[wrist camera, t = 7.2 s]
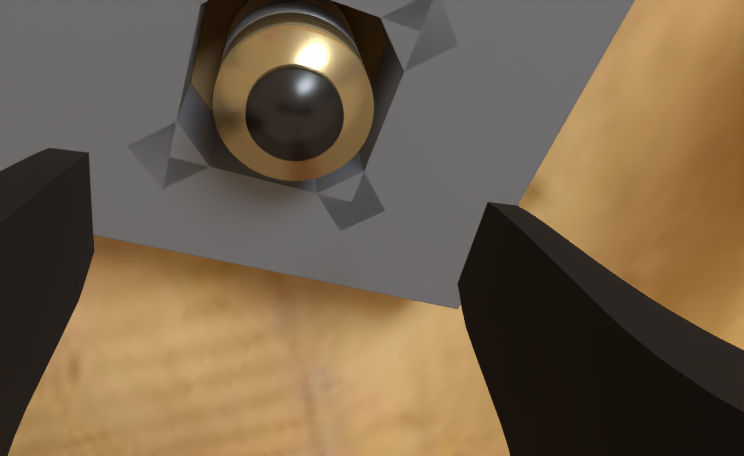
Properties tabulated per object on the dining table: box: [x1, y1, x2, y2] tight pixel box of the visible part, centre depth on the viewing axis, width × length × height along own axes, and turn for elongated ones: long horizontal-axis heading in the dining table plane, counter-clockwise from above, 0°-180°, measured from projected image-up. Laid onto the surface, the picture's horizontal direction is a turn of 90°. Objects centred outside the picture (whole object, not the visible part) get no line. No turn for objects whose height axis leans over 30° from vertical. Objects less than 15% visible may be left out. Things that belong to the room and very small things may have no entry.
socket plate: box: [0, 0, 635, 309], centre depth 17 cm, size 16×12×3 cm
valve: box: [213, 0, 374, 181], centre depth 16 cm, size 4×4×5 cm
